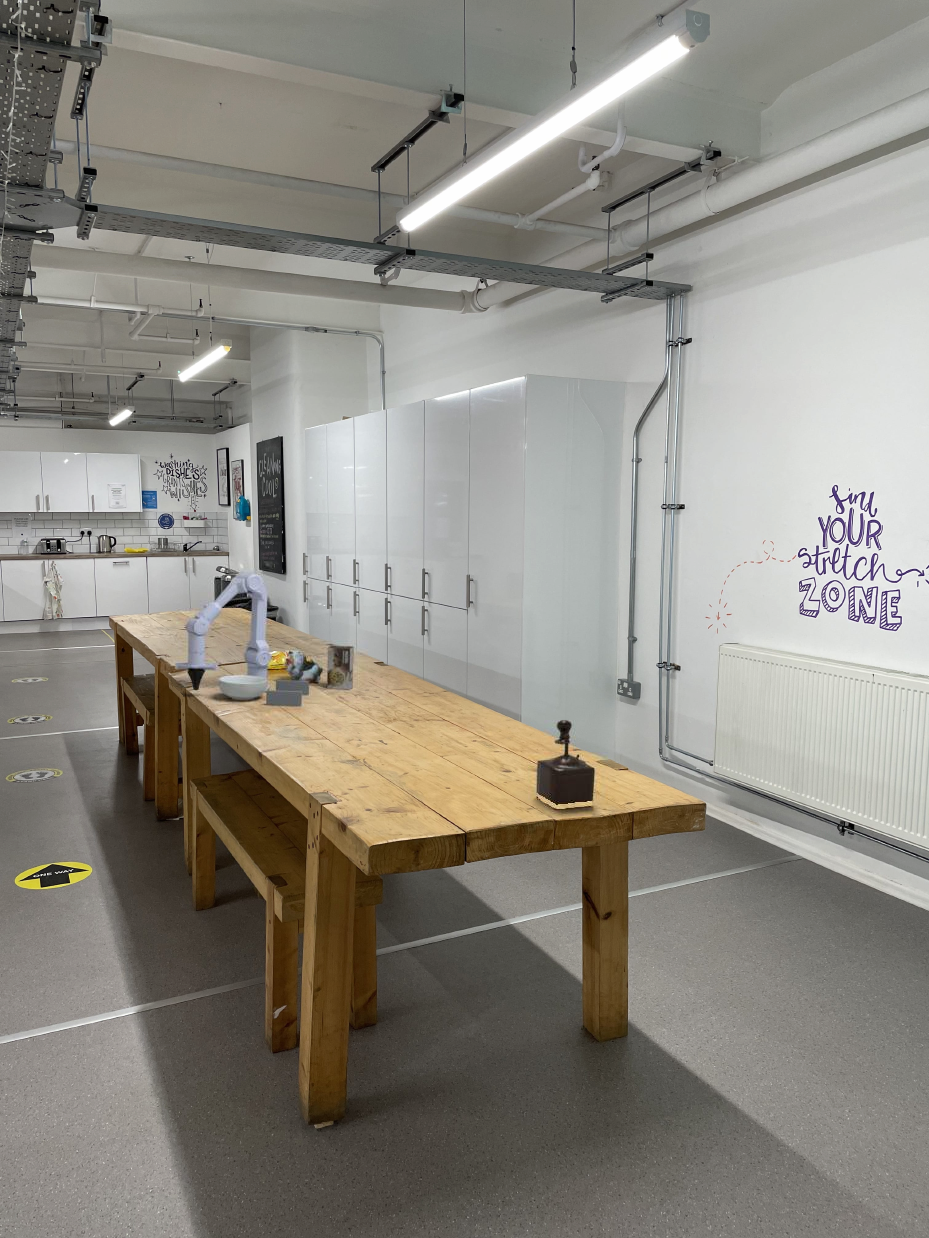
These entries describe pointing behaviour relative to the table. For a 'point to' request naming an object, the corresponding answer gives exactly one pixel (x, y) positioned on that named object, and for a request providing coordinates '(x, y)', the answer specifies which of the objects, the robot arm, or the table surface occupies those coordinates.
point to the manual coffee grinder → (565, 774)
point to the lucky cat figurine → (302, 668)
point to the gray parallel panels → (287, 693)
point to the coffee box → (340, 667)
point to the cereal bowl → (242, 686)
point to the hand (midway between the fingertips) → (196, 689)
